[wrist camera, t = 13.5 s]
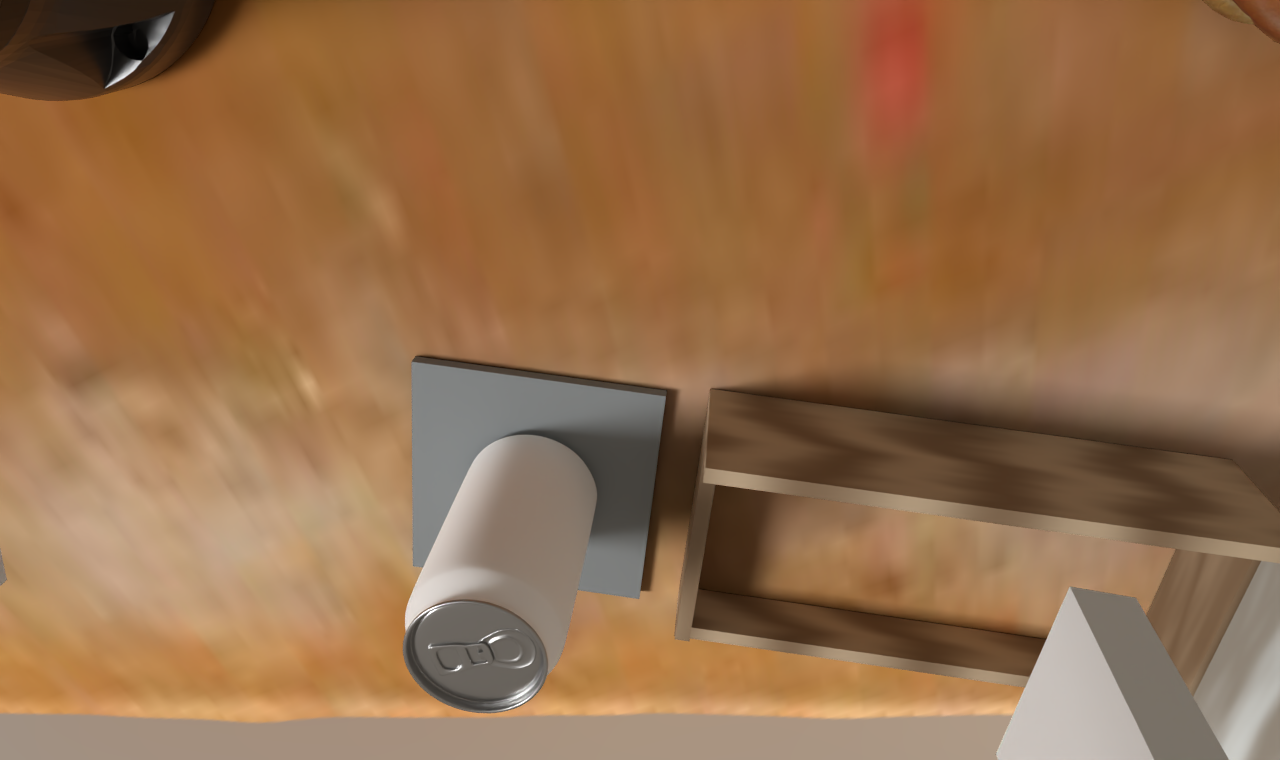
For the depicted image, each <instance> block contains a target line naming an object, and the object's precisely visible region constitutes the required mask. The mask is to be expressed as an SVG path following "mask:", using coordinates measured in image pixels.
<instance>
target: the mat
mask: <svg viewBox="0 0 1280 760" xmlns="http://www.w3.org/2000/svg"><path fill="white" fill-rule="evenodd" d="M666 393H667V391H666V390H659V389H652V388H644V387H637V386H630V385H622V384H615V383H608V382H600V381H593V380H586V379H578V378H571V377H564V376H556V375H549V374H542V373H534V372H527V371H520V370H513V369H505V368H498V367H491V366H483V365H476V364H469V363H461V362H454V361H447V360H439V359H432V358H425V357H417V356H415V358H414V359H413V360H412V492H413V566H416V567H424V565H425V562H426V560H427V558H428V556H429V554H430V552H431V549H432V547H433V545H434V543H435V541H436V539H437V536H438V534H439V532H440V530H441V528H442V526H443V523H444V521H445V519H446V517H447V515H448V513H449V511H450V508H451V506H452V504H453V502H454V500H455V498H456V496H457V493H458V491H459V489H460V487H461V485H462V483H463V481H464V479H465V477H466V475H467V472H468V470H469V468H470V466H471V465H472V463H473V461H474V460H475V458H476V457H477V455H478V454H479V453H480V452H481V451H482V450H483V449H484V448H486V447H487V446H488V445H490V444H491V443H493V442H495V441H497V440H499V439H502V438H505V437H509V436H514V435H536V436H542V437H546V438H549V439H552V440H555V441H557V442H559V443H561V444H563V445H565V446H566V447H568V448H569V449H571V450H572V451H573V452H575V453H576V454H577V455H578V456H579V457H580V458H581V459H582V460H583V462H584V463H585V464H586V466H587V467H588V469H589V471H590V473H591V474H592V477H593V479H594V482H595V485H596V489H597V502H596V508H595V513H594V518H593V522H592V527H591V532H590V536H589V541H588V545H587V550H586V554H585V559H584V563H583V568H582V572H581V577H580V581H579V586H578V590H581V591H588V592H595V593H602V594H609V595H616V596H623V597H630V598H636V599H639V597H640V590H641V582H642V574H643V567H644V559H645V552H646V544H647V537H648V529H649V521H650V514H651V506H652V499H653V491H654V484H655V476H656V468H657V461H658V453H659V446H660V438H661V431H662V423H663V415H664V408H665V400H666Z"/></svg>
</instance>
